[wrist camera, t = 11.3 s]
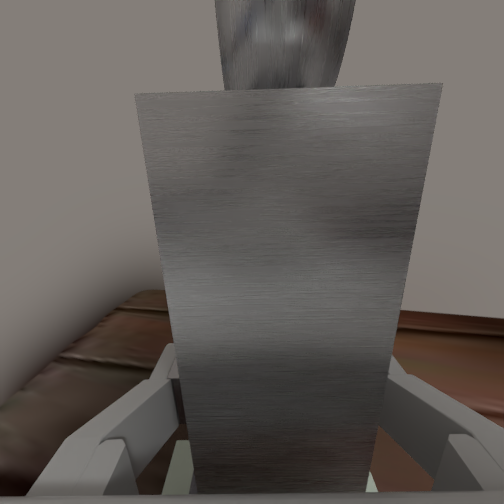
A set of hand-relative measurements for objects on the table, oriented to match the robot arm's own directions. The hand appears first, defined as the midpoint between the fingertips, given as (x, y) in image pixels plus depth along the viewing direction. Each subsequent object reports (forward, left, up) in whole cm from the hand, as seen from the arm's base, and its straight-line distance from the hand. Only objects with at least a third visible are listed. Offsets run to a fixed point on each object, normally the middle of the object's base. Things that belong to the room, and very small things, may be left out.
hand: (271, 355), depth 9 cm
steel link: (+1, +1, -12) cm, 13 cm away
